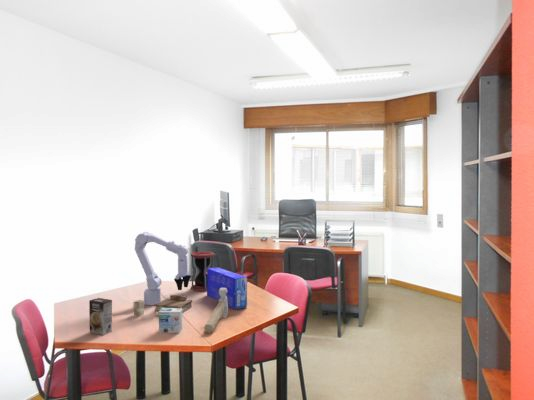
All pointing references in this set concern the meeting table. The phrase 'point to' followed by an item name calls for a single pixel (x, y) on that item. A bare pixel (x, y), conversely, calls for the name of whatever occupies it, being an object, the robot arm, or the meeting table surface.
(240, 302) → the toner cartridge box
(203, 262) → the hourglass
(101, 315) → the coffee box
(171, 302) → the lid
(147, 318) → the meeting table surface
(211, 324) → the hammer
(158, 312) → the cream rectangular tray
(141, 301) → the cream rectangular block
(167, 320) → the light bulb box
